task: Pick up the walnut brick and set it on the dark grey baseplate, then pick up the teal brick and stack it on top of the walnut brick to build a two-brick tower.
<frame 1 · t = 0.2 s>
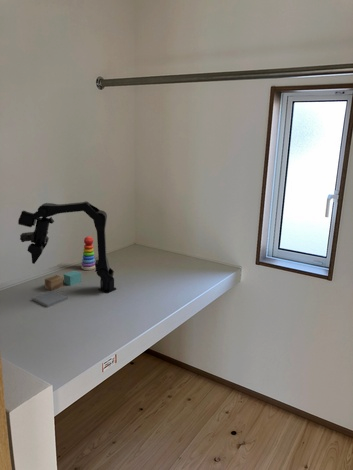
hand: (35, 260, 180), 15 cm above the table, tool pointing down, fingers open, 9 cm apart
baseplate: (50, 299, 174), on the table
walnut brick: (54, 287, 188), on the table
stacking toy: (88, 268, 214), on the table
teal brick: (72, 282, 194), on the table
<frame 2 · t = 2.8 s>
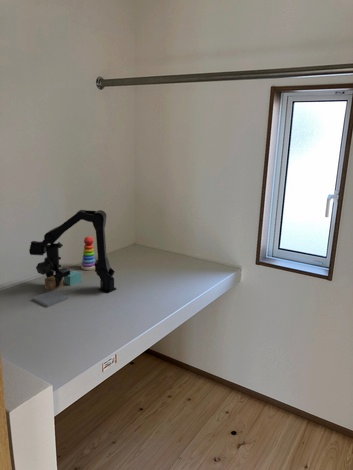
hand: (54, 285, 187), 1 cm above the table, tool pointing down, fingers closed on walnut brick, 5 cm apart
walnut brick: (54, 287, 187), on the table, touching gripper
everything else where it was.
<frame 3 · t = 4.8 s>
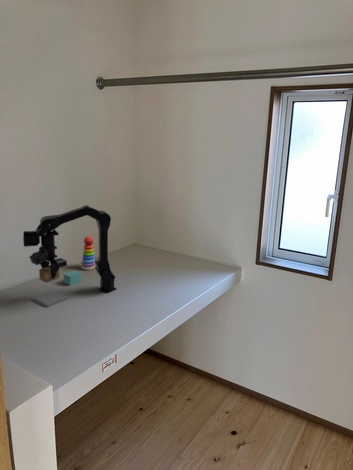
hand: (49, 276, 174), 10 cm above the table, tool pointing down, fingers closed on walnut brick, 5 cm apart
walnut brick: (49, 279, 174), point 9 cm above the table, touching gripper
everything else where it was.
when the fingers open (4 cm above the table, at t = 6.9 s): walnut brick drops 1 cm, resting on baseplate.
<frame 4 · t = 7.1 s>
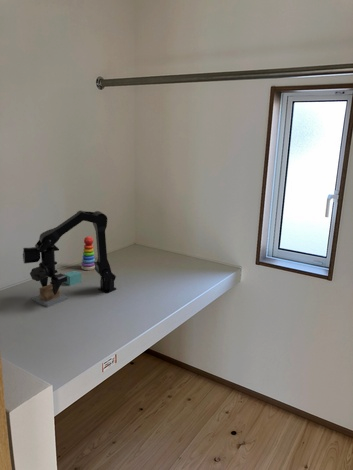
hand: (49, 292, 173), 4 cm above the table, tool pointing down, fingers open, 7 cm apart
walnut brick: (50, 297, 174), point 1 cm above the table, touching baseplate
everything else where it was.
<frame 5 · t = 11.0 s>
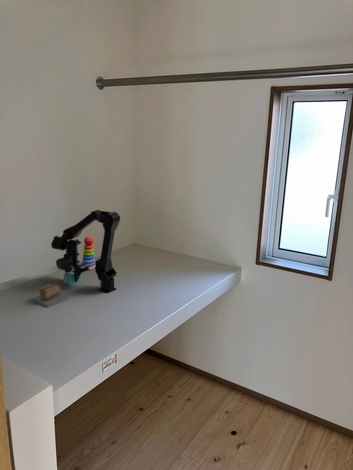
hand: (72, 280, 194), 1 cm above the table, tool pointing down, fingers closed on teal brick, 5 cm apart
teal brick: (72, 282, 194), on the table, touching gripper
everything else where it was.
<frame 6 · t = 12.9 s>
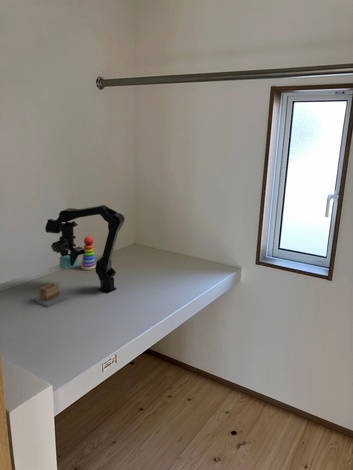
hand: (68, 264, 188), 11 cm above the table, tool pointing down, fingers closed on teal brick, 5 cm apart
teal brick: (68, 266, 189), point 10 cm above the table, touching gripper
everything else where it was.
when the fingers open (8 cm above the table, at t = 14.9 s): teal brick stays where it is, resting on walnut brick.
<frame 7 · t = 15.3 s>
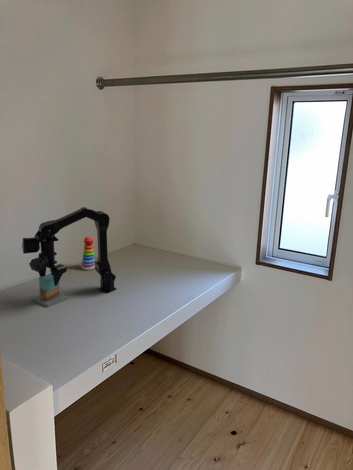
hand: (49, 283, 172), 8 cm above the table, tool pointing down, fingers open, 9 cm apart
walnut brick: (50, 297, 174), point 1 cm above the table, touching baseplate, teal brick
teal brick: (49, 287, 172), point 6 cm above the table, touching walnut brick
everything else where it was.
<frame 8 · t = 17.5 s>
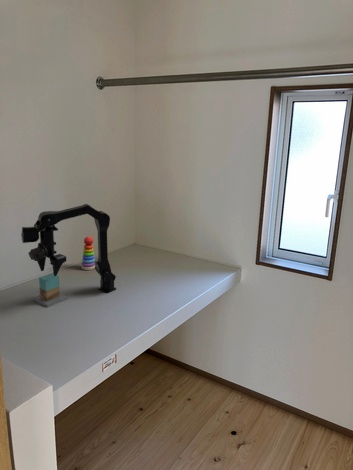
hand: (48, 273, 171), 13 cm above the table, tool pointing down, fingers open, 9 cm apart
nothing on the table moved.
at the end: walnut brick 0.0 cm off-centre on the baseplate, point 1.2 cm above the baseplate's base; teal brick 0.1 cm off-centre on the walnut brick, point 5.0 cm above the walnut brick's base; teal brick tilted 0° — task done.
